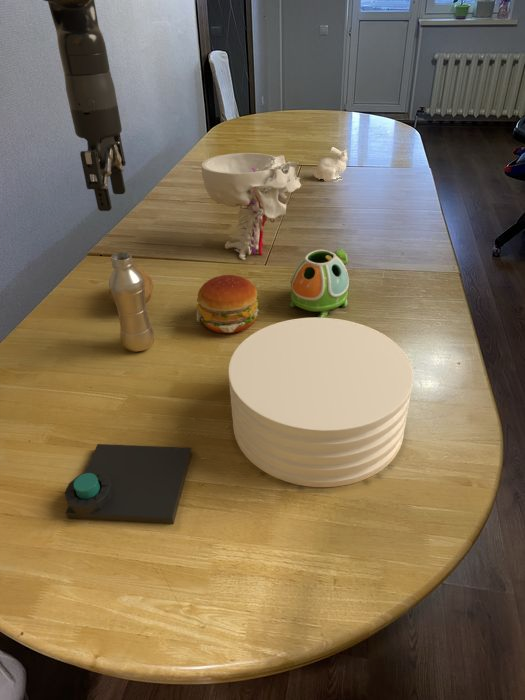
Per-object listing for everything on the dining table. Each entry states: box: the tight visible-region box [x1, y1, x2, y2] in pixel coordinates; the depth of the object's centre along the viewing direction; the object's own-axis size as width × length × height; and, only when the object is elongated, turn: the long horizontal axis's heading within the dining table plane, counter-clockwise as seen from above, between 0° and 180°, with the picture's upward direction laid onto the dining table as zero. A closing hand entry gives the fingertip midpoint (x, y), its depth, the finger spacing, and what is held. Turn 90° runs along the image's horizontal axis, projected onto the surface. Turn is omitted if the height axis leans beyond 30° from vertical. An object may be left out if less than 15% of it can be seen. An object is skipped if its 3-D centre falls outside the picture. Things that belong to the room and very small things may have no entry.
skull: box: [201, 152, 302, 261], centre depth 136 cm, size 25×19×23 cm
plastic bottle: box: [108, 251, 155, 352], centre depth 99 cm, size 6×7×20 cm
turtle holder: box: [289, 248, 350, 318], centre depth 114 cm, size 12×18×12 cm
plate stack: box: [227, 317, 414, 488], centre depth 83 cm, size 28×28×12 cm
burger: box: [196, 274, 260, 334], centre depth 109 cm, size 13×14×10 cm
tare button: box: [74, 473, 100, 499], centre depth 72 cm, size 3×3×2 cm
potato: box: [108, 265, 154, 305], centre depth 117 cm, size 10×14×8 cm
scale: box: [64, 443, 193, 525], centre depth 75 cm, size 16×13×3 cm
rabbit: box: [313, 146, 349, 183], centre depth 184 cm, size 12×9×12 cm
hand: (112, 201), depth 93 cm, fingers open, 8 cm apart
